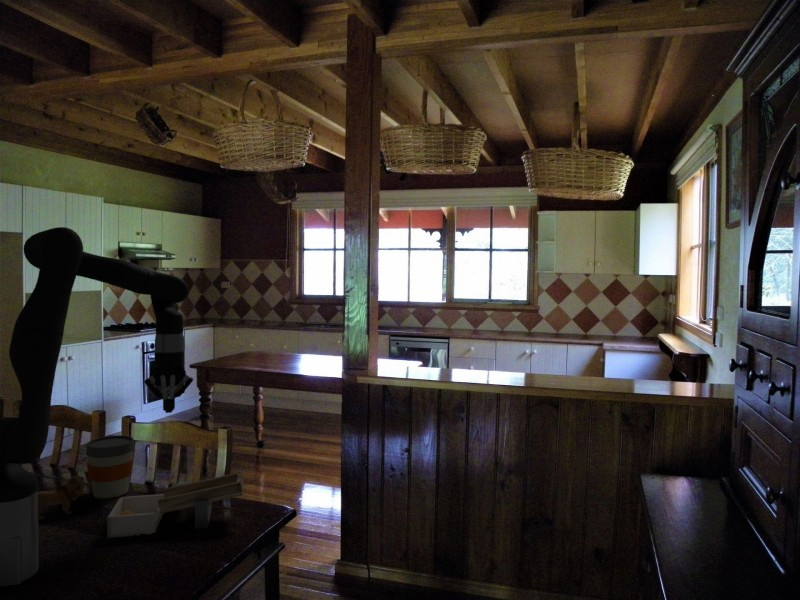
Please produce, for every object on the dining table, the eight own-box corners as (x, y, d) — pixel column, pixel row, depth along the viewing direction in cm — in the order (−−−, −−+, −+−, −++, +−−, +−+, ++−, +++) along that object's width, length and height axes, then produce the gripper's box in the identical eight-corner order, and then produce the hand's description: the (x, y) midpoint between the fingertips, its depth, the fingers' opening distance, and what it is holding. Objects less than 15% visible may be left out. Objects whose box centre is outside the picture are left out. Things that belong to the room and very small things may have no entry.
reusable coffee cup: (90, 487, 163) (89, 437, 163) (136, 482, 168) (136, 433, 167) (82, 503, 152) (81, 449, 151) (132, 497, 156) (132, 445, 155)
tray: (154, 533, 134) (154, 513, 134) (107, 538, 132) (107, 517, 132) (163, 512, 147) (163, 493, 147) (120, 515, 144) (120, 497, 144)
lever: (242, 497, 141) (240, 483, 141) (160, 516, 136) (157, 501, 136) (245, 474, 158) (242, 461, 158) (171, 489, 153) (169, 476, 153)
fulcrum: (207, 528, 138) (207, 500, 138) (194, 529, 137) (195, 501, 137) (211, 509, 149) (211, 484, 149) (200, 510, 148) (200, 484, 148)
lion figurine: (82, 504, 151) (82, 472, 151) (86, 510, 147) (86, 477, 147) (17, 519, 141) (17, 484, 141) (21, 526, 137) (20, 490, 137)
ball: (114, 521, 137) (125, 528, 137) (122, 510, 137) (134, 517, 138) (117, 516, 140) (129, 522, 140) (126, 505, 140) (137, 512, 141)
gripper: (140, 351, 146) (139, 416, 147) (192, 351, 149) (192, 414, 150) (146, 348, 153) (146, 410, 154) (196, 348, 156) (196, 408, 157)
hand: (169, 412), depth 152 cm, fingers closed
